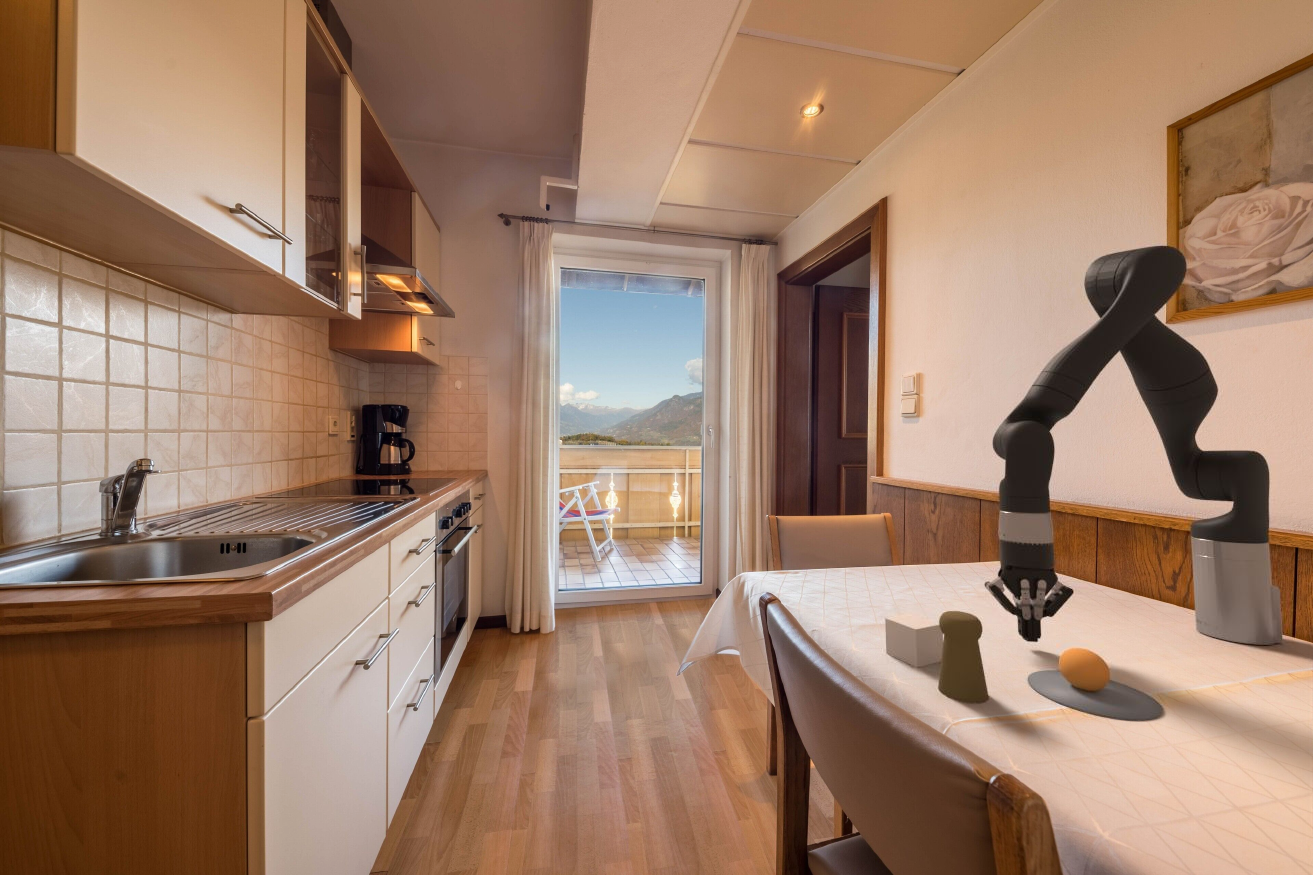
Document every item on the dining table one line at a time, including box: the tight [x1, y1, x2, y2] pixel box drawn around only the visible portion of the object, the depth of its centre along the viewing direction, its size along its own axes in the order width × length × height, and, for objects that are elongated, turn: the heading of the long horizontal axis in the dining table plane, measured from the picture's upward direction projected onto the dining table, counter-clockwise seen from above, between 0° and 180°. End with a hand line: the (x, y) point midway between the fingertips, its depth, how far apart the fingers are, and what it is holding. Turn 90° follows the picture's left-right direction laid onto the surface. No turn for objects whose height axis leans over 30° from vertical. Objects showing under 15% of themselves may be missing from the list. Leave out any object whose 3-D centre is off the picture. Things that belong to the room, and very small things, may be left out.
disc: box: [1027, 669, 1164, 721], centre depth 68 cm, size 14×14×1 cm
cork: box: [937, 610, 990, 704], centre depth 69 cm, size 6×6×11 cm
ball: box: [1058, 647, 1111, 691], centre depth 70 cm, size 6×6×6 cm
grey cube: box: [884, 613, 944, 668], centre depth 82 cm, size 6×6×6 cm
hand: (1030, 639), depth 84 cm, fingers closed
